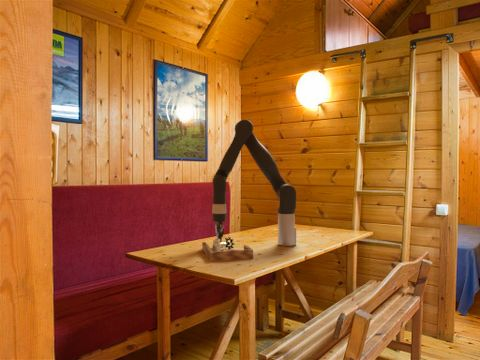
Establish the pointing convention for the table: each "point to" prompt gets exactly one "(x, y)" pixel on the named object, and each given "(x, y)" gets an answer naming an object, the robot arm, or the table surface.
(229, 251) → the rack
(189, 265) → the table surface
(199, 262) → the table surface
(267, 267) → the table surface
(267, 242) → the table surface
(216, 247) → the valve
